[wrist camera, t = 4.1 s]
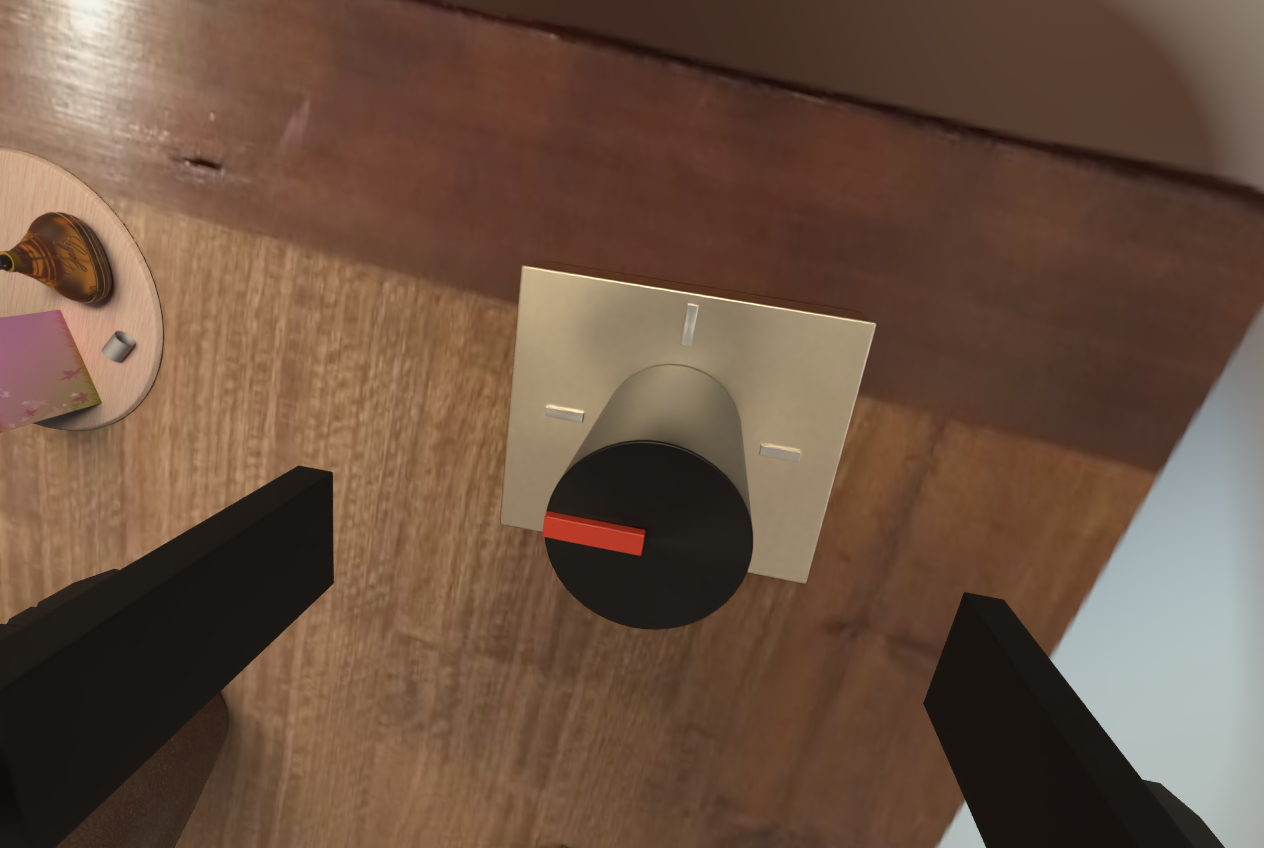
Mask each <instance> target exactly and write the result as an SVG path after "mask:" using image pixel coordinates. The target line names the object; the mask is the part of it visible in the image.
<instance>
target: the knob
mask: <svg viewBox="0 0 1264 848" xmlns="http://www.w3.org/2000/svg"><path fill="white" fill-rule="evenodd" d="M542 536H543V537H545V543H546V548H547V552H548V556H549V558H550V561H551V563H552V566H553V568H554V570H555V572H556V574H557V576H558V577H559V579H560V580H561V582H562V583H563V584H564V586H565V587H566V589H567V590H568V591H569V592H570V593H571V594H572V595H573V596H574V597H575V598H576V599H577V600H578V601H579V602H581V603H582V604H583V605H584V606H585V607H587V608H588V609H590V610H591V611H593V612H594V613H596V614H598V615H600V616H602V617H604V618H606V619H608V620H610V621H613V622H615V623H618V624H621V625H625V626H629V627H634V628H640V629H655V630H658V629H671V628H676V627H681V626H685V625H688V624H691V623H694V622H697V621H699V620H701V619H703V618H705V617H707V616H709V615H710V614H712V613H713V612H715V611H717V610H718V609H719V608H720V607H721V606H723V605H724V604H725V603H726V602H727V601H728V600H729V599H730V598H731V597H732V596H733V595H734V594H735V592H736V591H737V589H738V588H739V587H740V585H741V584H742V582H743V580H744V578H745V576H746V574H747V572H748V569H749V566H750V562H751V559H752V553H753V526H752V517H751V508H750V499H749V490H748V481H747V472H746V463H745V454H744V445H743V436H742V427H741V420H740V416H739V413H738V410H737V408H736V406H735V403H734V402H733V400H732V398H731V397H730V395H729V394H728V393H727V391H726V390H725V389H724V388H723V387H722V386H721V385H720V384H719V383H718V382H717V381H715V380H714V379H713V378H711V377H710V376H708V375H706V374H704V373H703V372H701V371H698V370H695V369H693V368H689V367H685V366H678V365H661V366H655V367H651V368H648V369H645V370H642V371H640V372H638V373H636V374H634V375H633V376H631V377H629V378H628V379H627V380H626V381H624V382H623V383H622V384H621V385H620V386H619V387H618V388H617V389H616V390H615V392H614V393H613V395H612V396H611V398H610V399H609V401H608V402H607V404H606V406H605V407H604V409H603V410H602V412H601V414H600V415H599V417H598V419H597V420H596V422H595V423H594V425H593V427H592V428H591V430H590V432H589V433H588V435H587V436H586V438H585V440H584V441H583V443H582V445H581V446H580V448H579V449H578V451H577V453H576V454H575V456H574V457H573V459H572V461H571V462H570V464H569V466H568V467H567V469H566V470H565V472H564V474H563V475H562V477H561V479H560V480H559V482H558V483H557V485H556V487H555V489H554V491H553V493H552V495H551V497H550V500H549V503H548V506H547V510H546V515H545V516H544V524H543V533H542Z"/></svg>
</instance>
